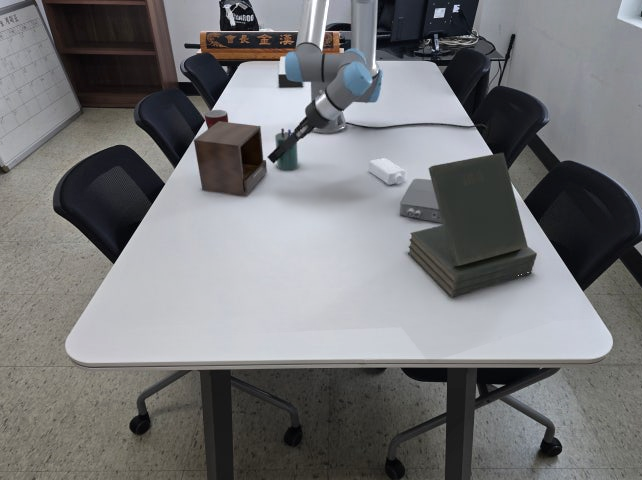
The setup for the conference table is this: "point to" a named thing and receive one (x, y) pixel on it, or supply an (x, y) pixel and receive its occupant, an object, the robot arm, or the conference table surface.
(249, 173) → the drawer
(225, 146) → the open wooden box
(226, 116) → the mug
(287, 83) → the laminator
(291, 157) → the pen pot
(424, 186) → the electronic device
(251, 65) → the conference table surface
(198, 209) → the conference table surface
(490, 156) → the stack of books
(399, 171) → the white bottle
